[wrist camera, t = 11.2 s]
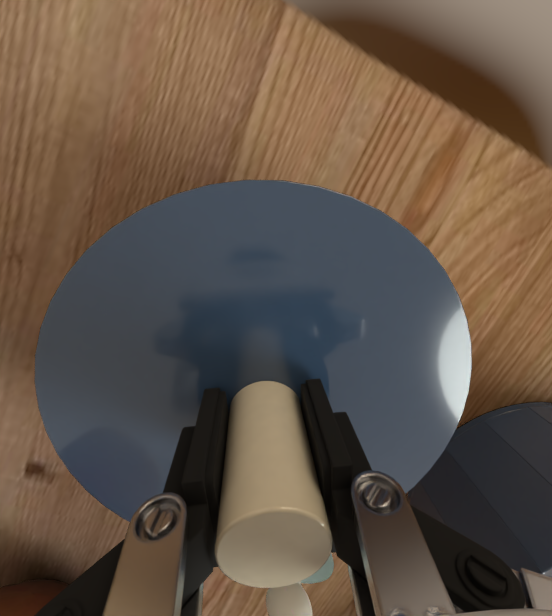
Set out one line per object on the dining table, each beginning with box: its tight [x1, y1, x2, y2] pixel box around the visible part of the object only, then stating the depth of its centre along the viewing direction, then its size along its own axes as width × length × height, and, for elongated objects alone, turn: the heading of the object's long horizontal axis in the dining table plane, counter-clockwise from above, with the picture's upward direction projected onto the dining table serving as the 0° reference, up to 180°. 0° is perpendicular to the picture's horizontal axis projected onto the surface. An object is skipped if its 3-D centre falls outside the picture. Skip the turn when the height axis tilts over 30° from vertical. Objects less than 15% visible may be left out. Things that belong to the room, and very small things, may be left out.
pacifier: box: [266, 554, 334, 616], centre depth 20 cm, size 7×6×6 cm
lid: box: [35, 180, 472, 588], centre depth 10 cm, size 17×17×6 cm
